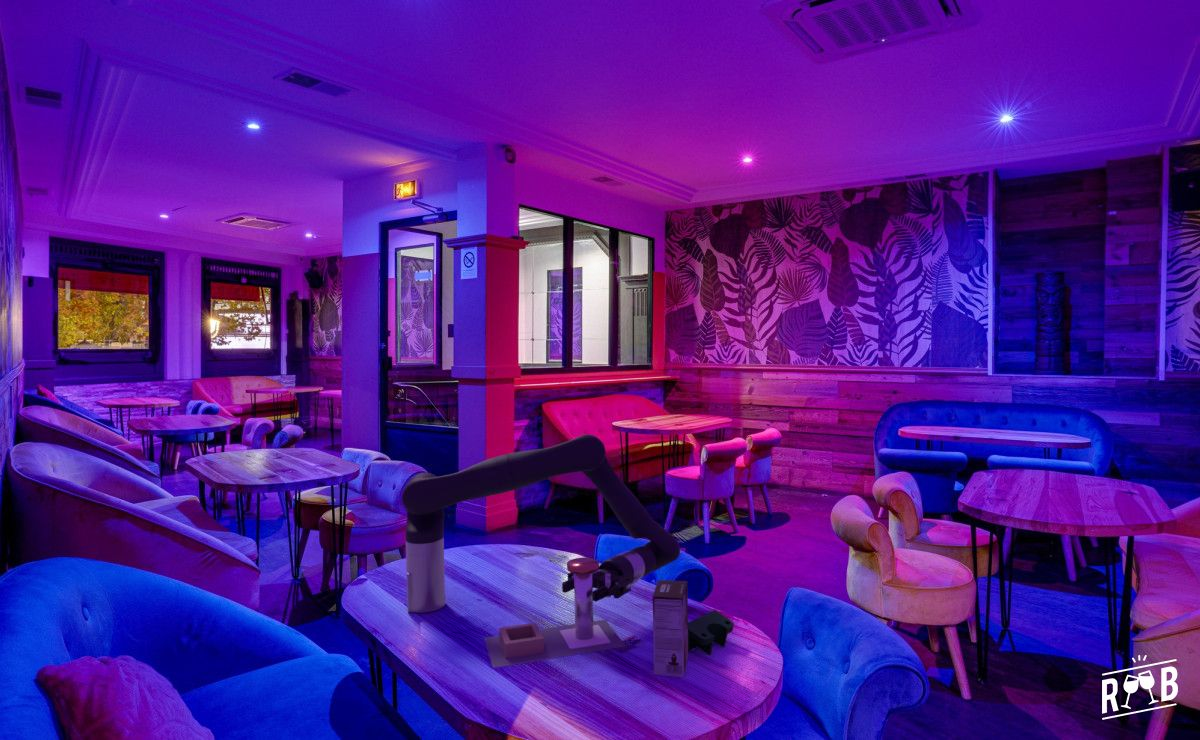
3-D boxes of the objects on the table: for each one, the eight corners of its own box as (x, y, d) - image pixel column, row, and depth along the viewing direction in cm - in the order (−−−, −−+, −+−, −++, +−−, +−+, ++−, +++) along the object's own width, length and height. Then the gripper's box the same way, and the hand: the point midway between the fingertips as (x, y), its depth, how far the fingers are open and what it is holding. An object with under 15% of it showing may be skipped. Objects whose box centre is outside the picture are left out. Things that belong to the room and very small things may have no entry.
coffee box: (658, 653, 138) (657, 578, 137) (688, 656, 137) (688, 580, 136) (653, 675, 129) (652, 595, 128) (685, 678, 128) (684, 597, 127)
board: (493, 675, 130) (492, 653, 130) (483, 644, 143) (483, 624, 143) (625, 653, 138) (625, 632, 138) (605, 625, 152) (605, 606, 151)
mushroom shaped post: (573, 645, 139) (571, 570, 138) (565, 631, 145) (563, 559, 144) (604, 640, 141) (603, 566, 140) (595, 626, 147) (593, 555, 147)
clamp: (702, 675, 137) (699, 646, 133) (681, 659, 141) (677, 630, 137) (737, 638, 144) (735, 610, 140) (715, 624, 148) (713, 595, 144)
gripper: (597, 549, 158) (553, 568, 145) (647, 560, 149) (604, 582, 136) (598, 580, 158) (553, 601, 145) (647, 593, 150) (604, 617, 137)
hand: (578, 592), depth 141 cm, fingers open, 8 cm apart
